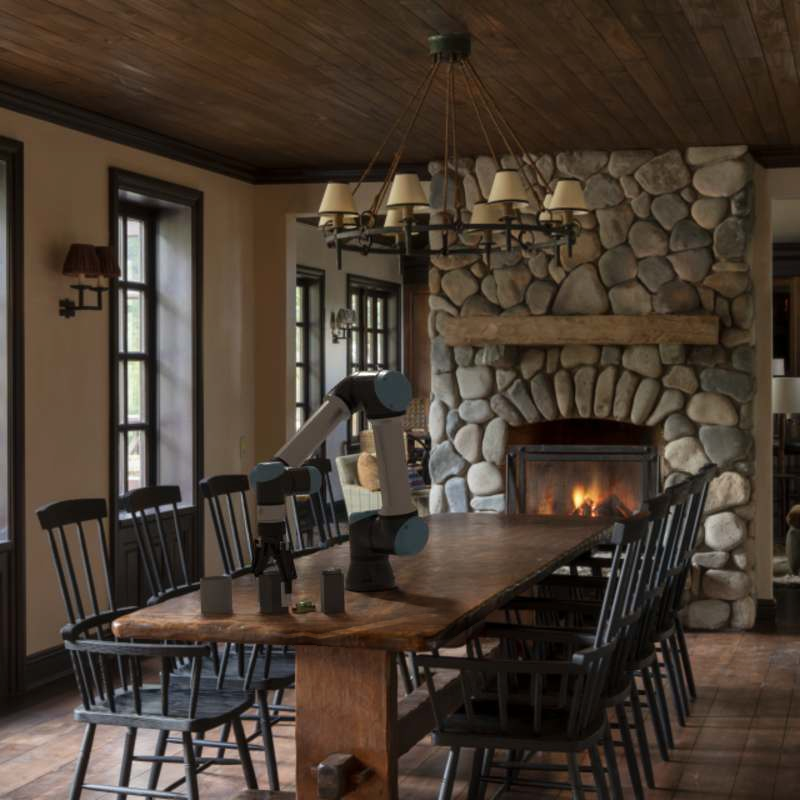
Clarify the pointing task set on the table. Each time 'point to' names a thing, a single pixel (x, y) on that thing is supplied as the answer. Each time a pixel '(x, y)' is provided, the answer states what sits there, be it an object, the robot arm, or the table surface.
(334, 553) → the table surface
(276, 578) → the knob
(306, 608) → the bubble vial
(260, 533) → the robot arm
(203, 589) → the cup
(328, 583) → the knob
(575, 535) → the table surface
